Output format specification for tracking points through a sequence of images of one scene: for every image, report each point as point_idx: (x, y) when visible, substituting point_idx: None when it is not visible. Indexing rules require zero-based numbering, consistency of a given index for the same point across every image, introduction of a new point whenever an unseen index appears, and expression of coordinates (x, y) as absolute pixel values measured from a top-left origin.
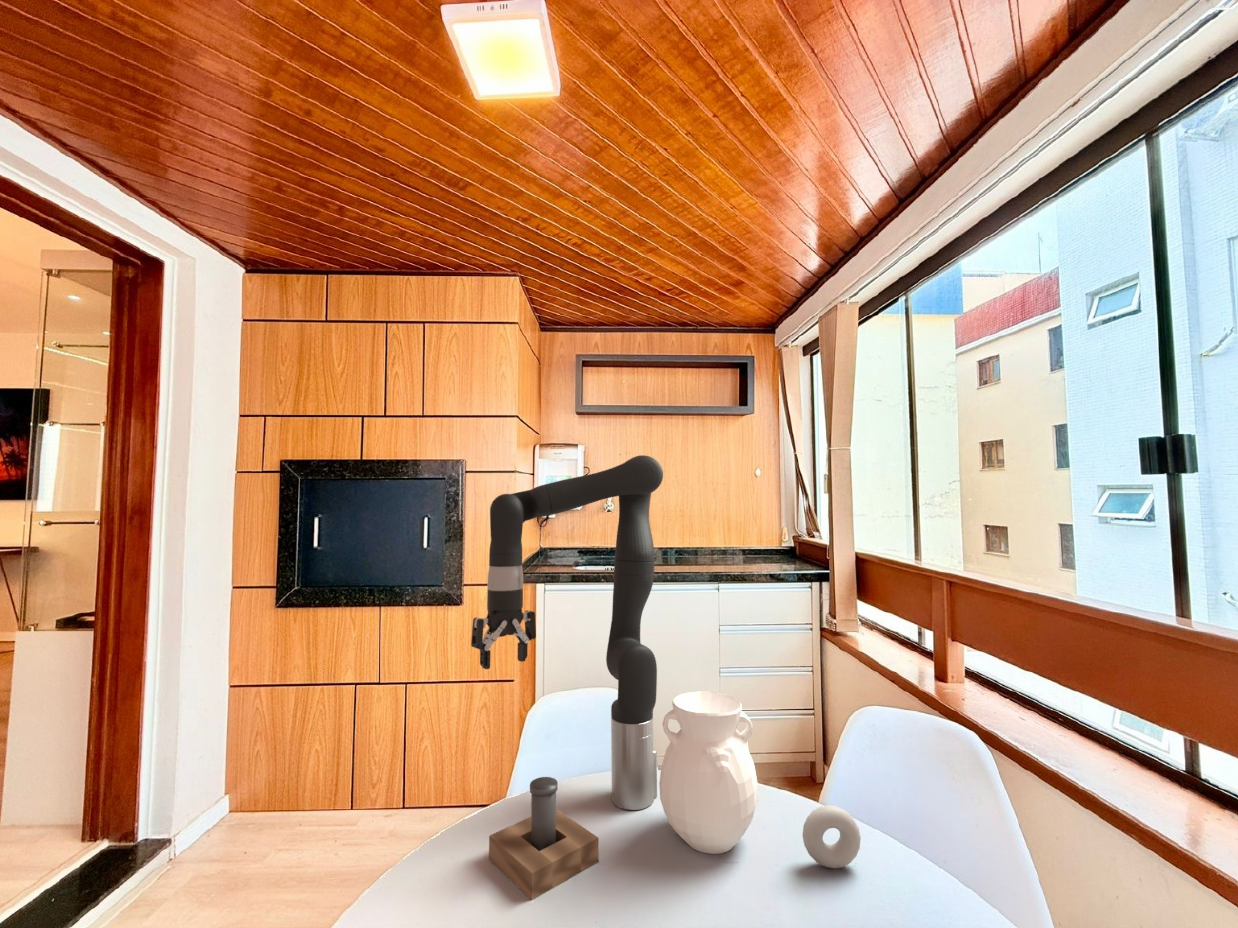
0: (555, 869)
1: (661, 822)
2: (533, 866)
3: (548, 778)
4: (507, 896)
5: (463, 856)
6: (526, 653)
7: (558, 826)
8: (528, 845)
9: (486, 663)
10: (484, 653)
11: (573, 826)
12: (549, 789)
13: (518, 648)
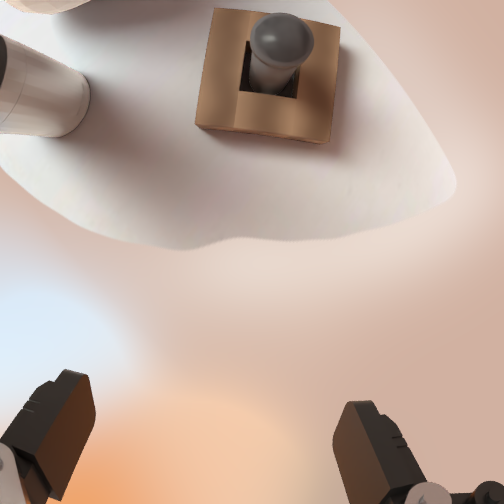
0: None
1: (87, 31)
2: (330, 34)
3: (259, 45)
4: (348, 66)
5: (339, 180)
6: (36, 399)
7: (234, 69)
8: (304, 71)
9: (378, 425)
10: (415, 476)
11: (217, 52)
12: (291, 15)
13: (69, 466)
